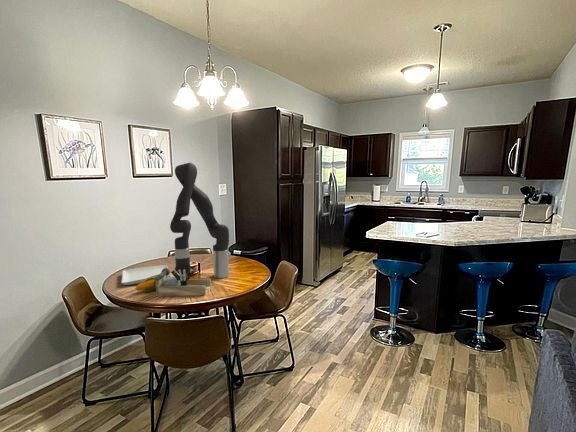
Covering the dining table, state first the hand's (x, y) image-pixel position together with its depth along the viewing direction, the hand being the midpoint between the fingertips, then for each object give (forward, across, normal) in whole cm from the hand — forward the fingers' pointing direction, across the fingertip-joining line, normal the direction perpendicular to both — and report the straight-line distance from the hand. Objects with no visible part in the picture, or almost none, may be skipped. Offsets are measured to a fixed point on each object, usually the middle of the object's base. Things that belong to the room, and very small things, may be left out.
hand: (184, 287), depth 168 cm
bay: (+2, 0, 0) cm, 3 cm away
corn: (+3, +19, -4) cm, 20 cm away
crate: (+1, +6, 0) cm, 7 cm away
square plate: (+3, +32, -26) cm, 42 cm away
